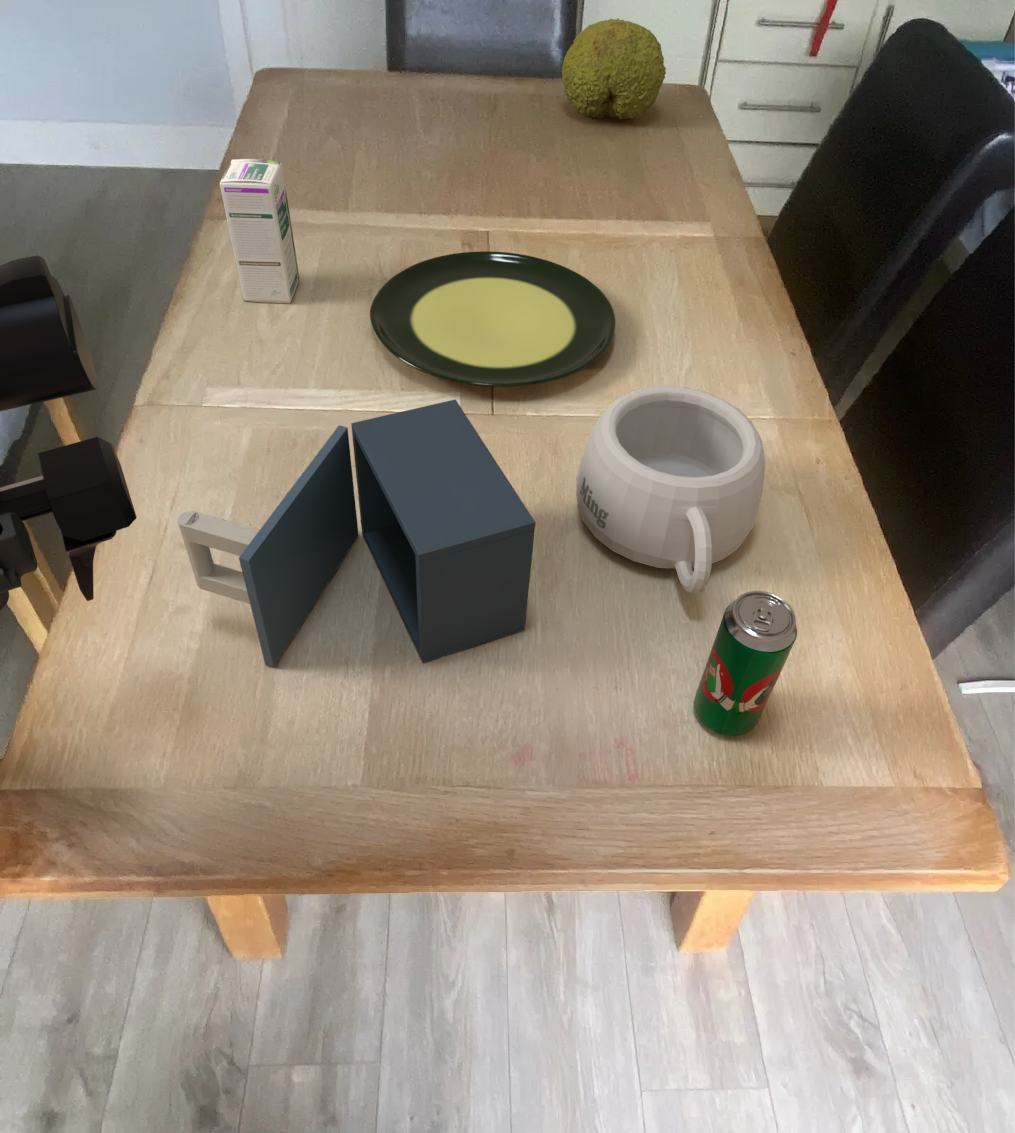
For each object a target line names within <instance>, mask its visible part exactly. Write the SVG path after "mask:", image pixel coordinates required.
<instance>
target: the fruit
mask: <svg viewBox="0 0 1015 1133" xmlns="http://www.w3.org/2000/svg"><path fill="white" fill-rule="evenodd" d="M664 60H665V57H664V55H663V51H662V44H661V43H660V42H659V41H658V39H657V36H655V34H654V33H653V32H652V31H651V29H647V27H645V26H643V25H641V24H638V23H634V22H633V21H629V20H625V19H620V18H618V17H617V18H615V19H614V18H609V19H604V20H600V21H597V22H595V23H593V24H589V25H588V26H586V27H585V28H584V29H583V30H581V31H580V32H579V33H578V35H577V36H575V38H574V39H573V41H572V44H571V45H570V46H569V48H568V50H567V51H566V54H565V56H564V58H563V62H562V67H561V69H562V71H561V82H562V83H563V87H564V91H563V93H564V94H565V96H566V97H567V100H568V101H569V103H570V104H571V106H572V107H573V108H575V110H576V111H577V112H578V113H580V114H581V115H585V116H588V117H590V118H594V119H595V118H596V119H602V118H605V117H613V118H618V119H619V121H620V120H628V119H631V120H636V119H637V118H639V117H640V116H643V115H646V114H647V111H648V110H650V109H651V107H652V106H653V105H654V104H655V103H656V101H657V98H658V96H659V92H660V90H661V88H662V85H663V84H664V80H665V79H666V76H665V75H666V74H667V72H666V70H667V67H665V64H664V63H665V61H664Z"/></svg>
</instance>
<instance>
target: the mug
mask: <svg viewBox="0 0 1015 1133" xmlns="http://www.w3.org/2000/svg"><path fill="white" fill-rule="evenodd" d="M765 476H766V455H765V451H764V446H763V441H762V439H761V436H760V433H759V431H758V430H757V428H756V426H755V424H754V423H753V422H752V420H751V419H750V418H749V416H747V415H746V414H745V413H744V412H743V411H742V410H741V409H739V408H738V407H737V406H735V405H734V404H732V403H730V402H729V401H727V400H725V399H724V398H721V397H719V396H718V395H717V396H716V395H714V394H712V393H710V392H706V391H703V390H699V389H695V388H690V387H686V386H674V385H659V386H658V385H657V386H648V387H644V388H639V389H636V390H633V391H630V392H628V393H626V394H624V395H622V396H620V397H618V398H617V399H615V400H614V401H613V403H611V404H610V405H609V406H608V407H607V408H606V409H605V410H604V412H603V413H601V414H600V416H599V417H598V418H597V421H596V423H595V425H594V427H593V429H592V431H591V434H590V436H589V437H588V441H587V443H586V445H585V448H584V451H583V454H582V456H581V459H580V462H579V466H578V470H577V475H576V501H577V508H578V510H579V514H580V515H581V516H580V517H581V519H582V522H583V523H584V525H585V526H586V527H587V528H588V530H589V531H590V532H591V534H592V535H593V537H594V538H595V539H597V540H598V541H599V542H600V543H602V544H603V545H604V546H605V547H607V548H608V549H609V550H610V551H612V552H613V553H615V554H618V555H620V556H622V557H624V558H626V559H629V561H630V560H631V561H633V562H635V563H639V564H643V565H646V566H651V567H654V568H659V569H660V568H661V569H675V571H676V574H677V577H678V580H679V582H680V585H681V587H682V588H683V590H684V591H685V592H687V593H690V594H691V595H698V594H700V593H702V592H704V591H705V589H706V588H707V585H708V583H709V580H710V576H711V572H712V564H714V563H717V562H720V561H722V560H724V559H726V558H727V557H729V556H730V555H731V554H733V553H734V552H735V551H737V550H738V549H739V548H740V547H741V546H742V544H743V542H744V541H745V539H746V538H747V537H748V535H749V534H750V532H751V531H752V529H753V528H754V526H755V525H756V521H757V518H758V514H759V509H760V506H761V502H762V495H763V490H764V484H765Z"/></svg>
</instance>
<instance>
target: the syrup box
mask: <svg viewBox="0 0 1015 1133" xmlns="http://www.w3.org/2000/svg"><path fill="white" fill-rule="evenodd" d="M284 174H285V173H284V167H283V163H282V162H281V161H278V160H271V159H263V158H262V159H261V158H238V159H233V158H232V159H231V161H230V163H229V166H228V167H227V168H226V170H225V172H224V173H223V175H222V177H221V180H220V181H219V184H218V185H219V187H220V191H221V197H222V203H223V206H224V212H225V216H226V217H225V218H226V221H227V228H228V232H229V236H230V241H231V246H232V247H231V248H232V251H233V256H234V261H235V265H236V270H237V276H238V281H239V284H240V290H241V294H242V299H243V301H245V302H252V303H267V304H291V303H292V300H293V298H294V295H295V292H296V290H297V286H298V284H299V280H300V273H299V266H298V260H297V253H296V252H297V251H296V247H295V246H296V245H295V241H294V233H293V226H292V220H291V213H290V208H289V202H288V194H287V187H286V182H285V181H286V180H285V175H284Z"/></svg>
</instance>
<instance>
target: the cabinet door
mask: <svg viewBox="0 0 1015 1133" xmlns="http://www.w3.org/2000/svg"><path fill="white" fill-rule="evenodd" d="M355 496H356V495H355V486H354V478H353V466H352V457H351V447H350V438H349V428H348V427H347V426H343V425H338V426H337V427H336V428H335V430H334V431H333V432H332V434H331V435H330V436H329V438H328V439H327V440H326V442H325V443H324V444H323V445H322V447H321V448H320V450H318V452H317V454H316V455H315V456H314V458H313V459H312V460H311V462H309V464H308V465H307V467H306V468H305V469H304V471H303V472H302V473H301V475H300V476H299V477H298V478H297V480H296V481H295V483H294V484H293V485H292V487H291V488H290V489H289V490H288V491H287V493H286V494H285V496H284V497H283V498H282V500H281V501H280V503H278V505H277V507H276V508H275V509H274V510H273V511H272V512H271V514H270V516H269V517H268V518H267V519H266V521H265V522H264V523H263V525H262V526H261V528H260V529H257V528H254V527H251V526H248V525H244V524H240V523H236V522H234V521H231V520H226V519H223V518H219V517H216V516H212V515H209V514H206V513H202V512H198V511H194V510H187V511H184V512H182V513H181V514H180V515H179V516H178V517H177V524H178V528H179V530H180V534H181V537H182V539H183V543H184V547H185V550H186V554H187V556H188V559H189V560H188V561H189V563H190V566H191V570H192V572H193V576H194V580H195V582H196V586H197V587H198V588H199V589H200V590H202V591H206V592H209V593H212V594H215V595H218V596H222V597H226V598H229V599H232V600H235V601H237V602H238V601H239V602H242V603H245V604H249V606H250V610H251V613H252V617H253V621H254V625H255V630H256V633H257V637H258V642H259V645H260V649H261V650H260V651H261V653H262V657H263V662H264V665H265V666H268V667H271V668H275V667H276V665H278V662H279V660H280V659H281V658H282V656H283V654H284V653H285V651H286V650H287V648H288V647H289V645H290V644H291V642H292V640H293V639H294V637H295V636H296V634H297V633H298V631H299V629H300V628H301V626H302V625H303V624H304V622H305V620H306V619H307V617H308V615H309V614H310V612H311V611H312V609H313V608H314V606H315V604H316V603H317V601H318V600H319V598H320V597H321V596H322V593H323V592H324V591H325V589H326V587H327V586H328V584H329V583H330V581H331V580H332V578H333V576H334V575H335V574H336V572H337V570H338V569H339V567H340V566H341V564H342V562H343V561H344V560H345V558H346V556H347V555H348V553H349V552H350V550H351V548H352V547H353V546H354V543H355V542H356V541H357V539H358V538H359V536H360V534H359V526H358V515H357V514H358V513H357V506H356V497H355ZM210 548H211V549H214V550H218V551H221V552H225V553H228V554H231V555H235V556H238V560H239V564H240V569H241V570H237V569H234V568H231V567H228V566H227V567H226V566H224V565H220V564H217V563H214V560H213V556H212V552H211V549H210Z"/></svg>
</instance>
